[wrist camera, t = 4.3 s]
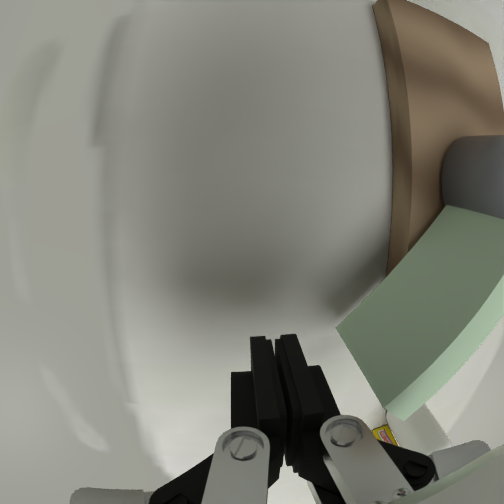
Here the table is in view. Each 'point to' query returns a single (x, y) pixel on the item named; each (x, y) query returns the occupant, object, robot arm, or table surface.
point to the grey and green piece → (438, 287)
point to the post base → (430, 108)
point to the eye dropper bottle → (419, 432)
